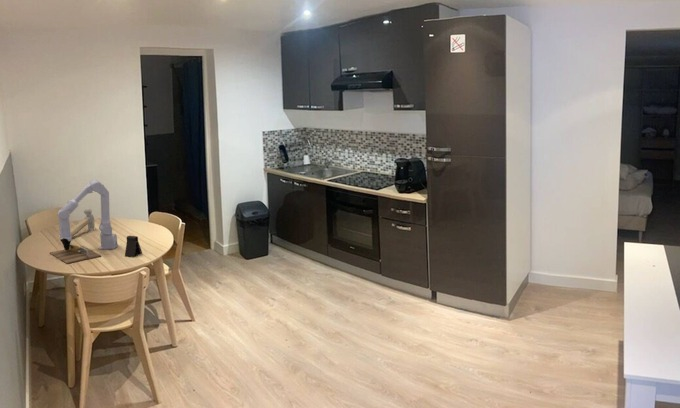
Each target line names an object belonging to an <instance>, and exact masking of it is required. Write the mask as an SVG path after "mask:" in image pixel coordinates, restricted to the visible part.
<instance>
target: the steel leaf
mask: <svg viewBox="0 0 680 408" xmlns="http://www.w3.org/2000/svg"><path fill="white" fill-rule="evenodd" d="M78 253H79V254H82V255H84V256H86V257H89V255H88V250H87V249H85V248H83V247H80V250H78Z"/></svg>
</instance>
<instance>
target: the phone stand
mask: <svg viewBox="0 0 680 408" xmlns="http://www.w3.org/2000/svg"><path fill="white" fill-rule="evenodd" d="M141 254H143V250H142V248H141V245H140V242H139V236H137V235H127V236H126V244H125V252H124V257H126V258H127V257H128V258H135V257H137V256H139V255H141Z"/></svg>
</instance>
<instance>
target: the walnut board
mask: <svg viewBox="0 0 680 408" xmlns="http://www.w3.org/2000/svg"><path fill="white" fill-rule="evenodd" d="M81 246H82V247H83V248H85V249H87V250H88V255H89V257H86V256H84V255H82V254H79V253H78V252H73V251H68V250H65V249H61V250H55V251H49V254H50V255H51V256H52V257H54V256H55V257H54V258H56V259H57V260H59V261H61V262H62V261H63V262H62V263H64V264H65V265H70V264H74V263H79V262H83V261H88V260H92V259H97V258H102V255H101V254H99V253H97V252H95V251H94V250H91V249H89V248H88V247H86V246H84V245H81Z"/></svg>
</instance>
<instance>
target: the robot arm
mask: <svg viewBox="0 0 680 408" xmlns="http://www.w3.org/2000/svg"><path fill="white" fill-rule="evenodd" d="M95 192H96V193H97V194H98V195H100V216H101V217H100V224H99V226H98V229H99V231H100V233H99V236H100V237H99V238H100V247H99V248H98V250H114V249H115V248H117V247H118V246H119V244H118V236H117V234H116V233H113V227H112V224H111V220H110V217H111V216H110V192H109V190H108V189H107V187H105V185H104V184H102V182H100V181H99V180H97V179H92V180H90V181H88V183H87V184H86V185H84V186H83V188H82V190H80V192H78V194H77V195H76V196H75V198H73V199H70V200H67V201H66V204H65V205H64V206H62V207H61V208H60V209H59V210H58V212H57V217H58V225H59V226H58V227H59V236H58V238H59V239H60V242H61V243H62V245H63V248H64V249H63V250H69V247H70V244H71V242H72V241H73V237H72V238H71V233H70V230H71V226H70V225H71V224H70V215H71V214H72V213H73V212H74V211H75V210H76V209H77V208H78V207H79V202H81V200H83V199H84V198H85V197H86V196H87V195H88V194H92V193H95Z"/></svg>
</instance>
